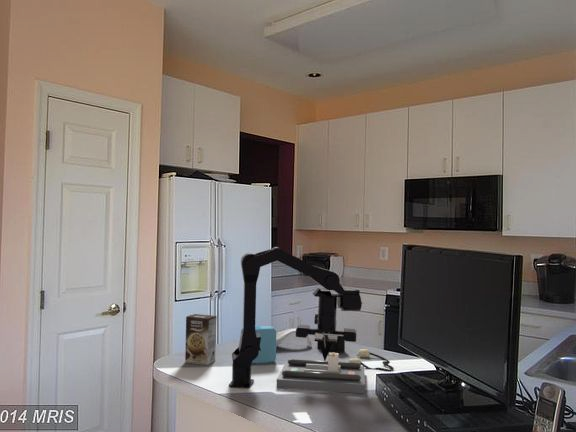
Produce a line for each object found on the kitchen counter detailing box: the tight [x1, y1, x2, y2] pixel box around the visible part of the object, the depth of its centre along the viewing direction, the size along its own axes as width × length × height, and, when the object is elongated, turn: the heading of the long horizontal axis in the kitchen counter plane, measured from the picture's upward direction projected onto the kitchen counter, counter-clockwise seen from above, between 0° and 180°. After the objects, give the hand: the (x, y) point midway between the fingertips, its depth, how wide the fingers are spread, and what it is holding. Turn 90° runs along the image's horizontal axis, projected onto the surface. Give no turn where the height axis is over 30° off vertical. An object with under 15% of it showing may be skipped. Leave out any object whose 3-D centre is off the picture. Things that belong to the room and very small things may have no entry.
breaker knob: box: [327, 352, 340, 371], centre depth 145 cm, size 4×3×6 cm
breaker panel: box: [276, 358, 366, 394], centre depth 146 cm, size 18×26×4 cm
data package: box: [240, 325, 277, 364], centre depth 165 cm, size 12×4×12 cm, turn 106°
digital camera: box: [316, 332, 346, 355], centre depth 182 cm, size 10×5×7 cm, turn 46°
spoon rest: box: [276, 327, 313, 348], centre depth 186 cm, size 24×12×7 cm, turn 99°
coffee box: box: [184, 313, 217, 366], centre depth 164 cm, size 9×6×16 cm
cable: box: [347, 348, 395, 372], centre depth 165 cm, size 16×16×4 cm
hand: (325, 360), depth 146 cm, fingers closed
